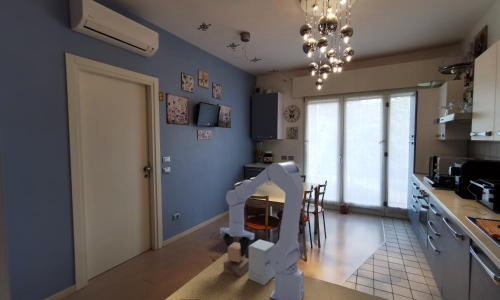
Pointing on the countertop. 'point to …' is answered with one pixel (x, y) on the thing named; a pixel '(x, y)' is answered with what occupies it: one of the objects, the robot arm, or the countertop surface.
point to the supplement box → (261, 261)
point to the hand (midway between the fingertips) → (236, 253)
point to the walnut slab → (236, 267)
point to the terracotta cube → (235, 252)
